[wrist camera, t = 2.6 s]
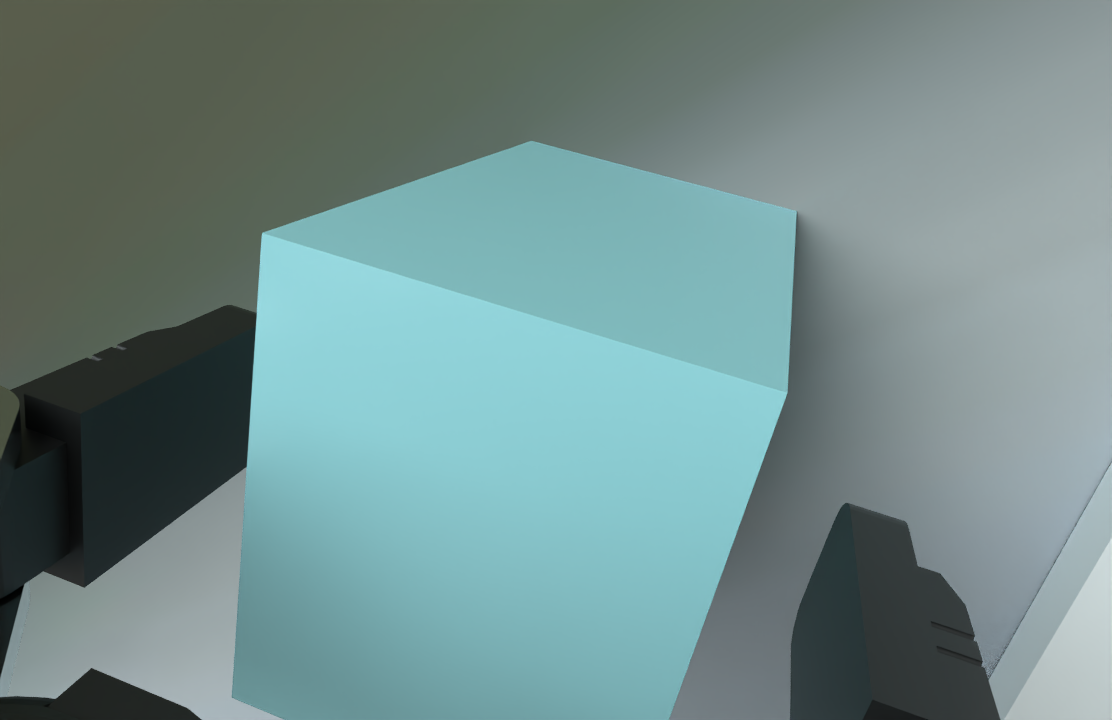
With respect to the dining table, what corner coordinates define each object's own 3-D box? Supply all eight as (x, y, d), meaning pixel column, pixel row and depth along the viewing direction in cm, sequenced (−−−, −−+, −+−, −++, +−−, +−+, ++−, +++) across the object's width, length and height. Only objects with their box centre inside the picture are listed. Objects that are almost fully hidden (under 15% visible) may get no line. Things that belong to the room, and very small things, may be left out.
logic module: (531, 140, 15) (262, 233, 8) (796, 210, 15) (788, 392, 7) (477, 418, 18) (231, 698, 10) (702, 492, 17) (618, 859, 9)
